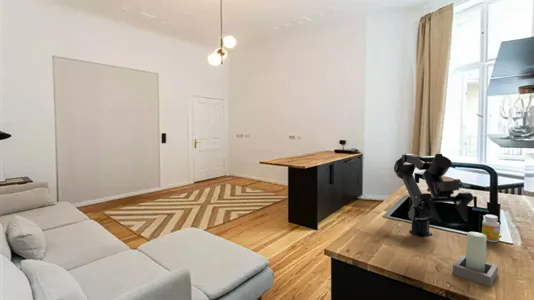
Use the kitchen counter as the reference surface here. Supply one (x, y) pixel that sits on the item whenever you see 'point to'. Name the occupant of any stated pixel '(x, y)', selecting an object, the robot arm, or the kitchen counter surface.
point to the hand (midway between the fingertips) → (453, 221)
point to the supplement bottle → (491, 228)
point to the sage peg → (476, 251)
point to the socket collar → (475, 272)
